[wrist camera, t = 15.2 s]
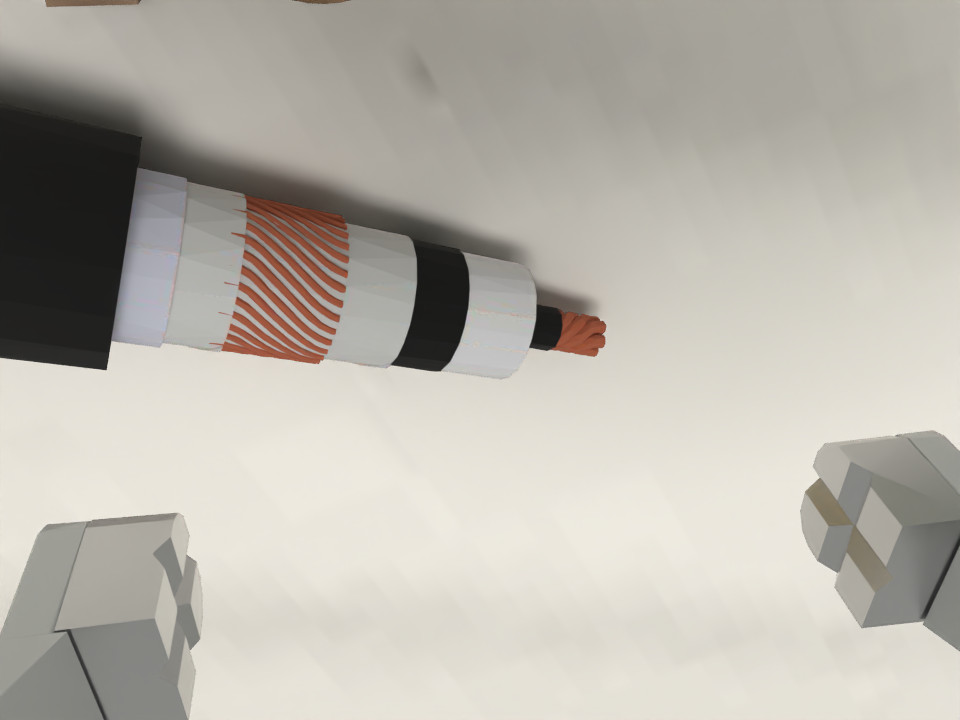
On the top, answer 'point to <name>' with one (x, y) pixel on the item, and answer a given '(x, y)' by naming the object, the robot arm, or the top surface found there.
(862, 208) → the top surface
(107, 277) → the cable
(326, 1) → the bobbin
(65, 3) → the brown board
